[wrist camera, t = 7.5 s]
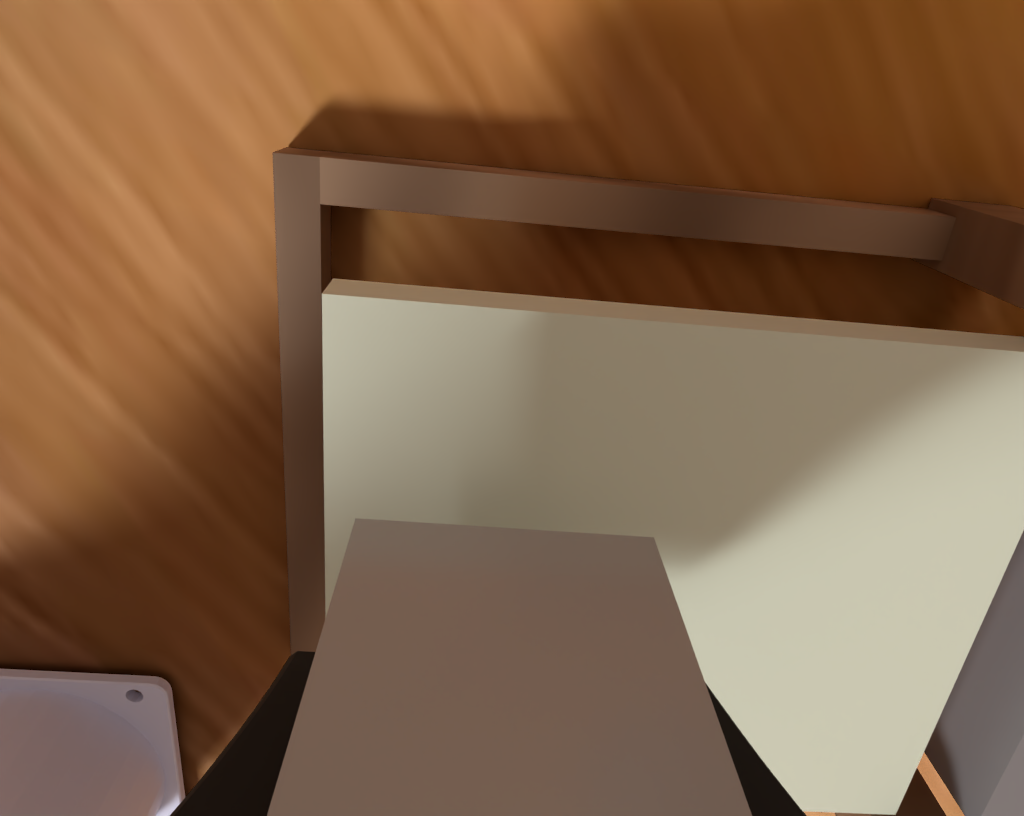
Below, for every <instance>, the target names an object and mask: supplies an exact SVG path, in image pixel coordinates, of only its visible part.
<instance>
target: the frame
mask: <svg viewBox="0 0 1024 816" xmlns="http://www.w3.org/2000/svg"><path fill="white" fill-rule="evenodd" d="M273 175H274V203H275V230H276V258H277V285H278V313H279V340H280V368H281V395H282V423H283V450H284V478H285V505H286V533H287V560H288V588H289V615H290V643H291V655H292V654H294V653H295V652H297V651H308V652H316V649H317V646H318V642H319V639H320V636H321V632H322V629H323V625H324V622H325V531H324V442H323V353H322V293H323V291H324V290H325V289H326V287H327V286H328V285H329V283H330V282H331V205H335V206H346V207H357V208H368V209H379V210H390V211H401V212H412V213H423V214H434V215H445V216H456V217H467V218H478V219H489V220H500V221H511V222H522V223H533V224H544V225H555V226H566V227H577V228H588V229H599V230H610V231H621V232H632V233H643V234H654V235H665V236H676V237H687V238H698V239H709V240H720V241H731V242H742V243H753V244H764V245H775V246H786V247H797V248H808V249H819V250H830V251H841V252H852V253H863V254H874V255H885V256H896V257H907V258H912V260H915V261H917V262H919V263H921V264H923V265H926V266H928V267H930V268H932V269H935V270H937V271H939V272H941V273H944V274H946V275H948V276H950V277H952V278H955V279H957V280H959V281H961V282H964V283H966V284H968V285H970V286H973V287H975V288H977V289H979V290H981V291H984V292H986V293H988V294H990V295H993V296H995V297H997V298H999V299H1002V300H1004V301H1006V302H1008V303H1011V304H1013V305H1015V306H1017V307H1019V308H1022V309H1024V209H1021V208H1017V207H1013V206H1008V205H998V204H988V203H977V202H967V201H957V200H946V199H936V198H931V201H930V204H929V208H928V209H927V208H917V207H906V206H896V205H885V204H875V203H865V202H854V201H844V200H833V199H823V198H812V197H802V196H791V195H781V194H770V193H760V192H749V191H739V190H728V189H718V188H708V187H697V186H687V185H676V184H666V183H655V182H645V181H634V180H624V179H613V178H603V177H592V176H582V175H571V174H561V173H551V172H540V171H530V170H519V169H509V168H498V167H488V166H477V165H467V164H456V163H446V162H435V161H425V160H414V159H404V158H394V157H383V156H373V155H362V154H352V153H341V152H331V151H320V150H310V149H299V148H289V147H286V148H283V149H281V150H278V151H275V152H273ZM835 815H836V816H946V815H945V813H944V811H943V810H942V808H941V806H940V805H939V803H938V802H937V800H936V798H935V797H934V795H933V793H932V792H931V790H930V789H929V787H928V785H927V784H926V782H925V780H924V779H923V777H922V775H921V774H920V772H919V771H918V769H917V768H916V771H915V773H914V775H913V777H912V780H911V782H910V784H909V786H908V788H907V791H906V793H905V795H904V797H903V800H902V802H901V804H900V806H899V808H898V811H897V813H896V815H885V814H860V813H835Z"/></svg>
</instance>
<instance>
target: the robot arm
mask: <svg viewBox="0 0 1024 816" xmlns="http://www.w3.org/2000/svg"><path fill="white" fill-rule="evenodd" d="M314 656H315V652H308V651H297V652H295V653H294V654H292V655H291V656H290V657H289V658H288V660H287V662H286V663H285V665H284V666H283V668H282V670H281V671H280V673H279V674H278V676H277V677H276V679H275V680H274V682H273V683H272V685H271V686H270V688H269V689H268V691H267V692H266V694H265V695H264V697H263V698H262V699H261V701H260V702H259V704H258V705H257V706H256V708H255V709H254V711H253V712H252V713H251V715H250V716H249V717H248V719H247V720H246V722H245V723H244V724H243V726H242V727H241V728H240V730H239V731H238V732H237V734H236V735H235V736H234V738H233V739H232V740H231V741H230V743H229V744H228V745H227V746H226V748H225V749H224V750H223V752H222V753H221V754H220V755H219V757H218V758H217V759H216V761H215V762H214V763H213V764H212V766H211V767H210V768H209V770H208V771H207V772H206V773H205V775H204V776H203V777H202V778H201V780H200V781H199V782H198V783H197V784H196V786H195V787H194V788H193V789H192V790H191V791H190V793H189V794H188V795H187V796H186V797H185V790H184V782H183V774H182V766H181V758H180V750H179V742H178V734H177V726H176V718H175V710H174V702H173V694H172V688H171V686H170V684H169V683H168V682H167V681H166V680H165V679H163V678H161V677H156V676H140V675H120V674H99V673H79V672H59V671H39V670H18V669H0V816H267V814H268V810H269V807H270V804H271V800H272V797H273V794H274V790H275V787H276V783H277V780H278V777H279V773H280V770H281V767H282V763H283V760H284V757H285V753H286V750H287V746H288V743H289V740H290V736H291V733H292V730H293V726H294V723H295V720H296V716H297V713H298V709H299V706H300V703H301V699H302V696H303V693H304V689H305V686H306V683H307V679H308V676H309V673H310V669H311V666H312V662H313V659H314ZM705 684H706V683H705ZM706 687H707V689H708V692H709V695H710V698H711V701H712V703H713V706H714V709H715V712H716V715H717V718H718V720H719V723H720V726H721V729H722V732H723V735H724V737H725V740H726V743H727V746H728V749H729V752H730V754H731V757H732V760H733V763H734V766H735V769H736V771H737V774H738V777H739V780H740V783H741V786H742V788H743V791H744V794H745V797H746V800H747V803H748V805H749V808H750V811H751V814H752V816H806V815H805V813H804V812H803V811H802V810H801V809H800V807H799V806H798V805H797V804H796V802H795V801H794V800H793V798H792V797H791V796H790V795H789V793H788V792H787V791H786V790H785V788H784V787H783V786H782V785H781V783H780V782H779V781H778V780H777V778H776V777H775V776H774V775H773V773H772V772H771V771H770V769H769V768H768V767H767V766H766V764H765V763H764V762H763V760H762V759H761V758H760V756H759V755H758V754H757V752H756V751H755V750H754V748H753V747H752V746H751V744H750V743H749V742H748V740H747V739H746V738H745V736H744V735H743V734H742V732H741V731H740V730H739V728H738V727H737V725H736V724H735V723H734V721H733V720H732V719H731V717H730V716H729V714H728V713H727V712H726V710H725V709H724V708H723V706H722V705H721V703H720V702H719V701H718V699H717V698H716V696H715V695H714V694H713V692H712V691H711V690H710V688H709V687H708V685H707V684H706ZM133 689H134V690H133ZM135 690H138V691H139V692H136V691H135ZM140 692H141V693H140Z"/></svg>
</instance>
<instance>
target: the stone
mask: <svg viewBox="0 0 1024 816" xmlns="http://www.w3.org/2000/svg"><path fill="white" fill-rule="evenodd" d="M267 816H752V814H751V811H750V808H749V805H748V803H747V800H746V797H745V794H744V791H743V788H742V786H741V783H740V780H739V777H738V774H737V771H736V769H735V766H734V763H733V760H732V757H731V754H730V752H729V749H728V746H727V743H726V740H725V737H724V735H723V732H722V729H721V726H720V723H719V720H718V718H717V715H716V712H715V709H714V706H713V703H712V701H711V698H710V695H709V692H708V689H707V687H706V684H705V681H704V678H703V675H702V672H701V670H700V667H699V664H698V661H697V658H696V655H695V653H694V650H693V647H692V644H691V641H690V638H689V636H688V633H687V630H686V627H685V624H684V621H683V619H682V616H681V613H680V610H679V607H678V604H677V602H676V599H675V596H674V593H673V590H672V587H671V585H670V582H669V579H668V576H667V573H666V570H665V568H664V565H663V562H662V559H661V556H660V553H659V551H658V548H657V545H656V542H655V539H654V537H641V536H625V535H610V534H594V533H578V532H563V531H547V530H531V529H516V528H500V527H484V526H469V525H453V524H437V523H422V522H406V521H390V520H375V519H359V518H355V521H354V525H353V528H352V531H351V535H350V538H349V541H348V545H347V548H346V551H345V555H344V558H343V562H342V565H341V568H340V572H339V575H338V578H337V582H336V585H335V588H334V592H333V595H332V599H331V602H330V605H329V609H328V612H327V615H326V619H325V622H324V625H323V629H322V632H321V636H320V639H319V642H318V646H317V649H316V652H315V656H314V659H313V662H312V666H311V669H310V673H309V676H308V679H307V683H306V686H305V689H304V693H303V696H302V699H301V703H300V706H299V709H298V713H297V716H296V720H295V723H294V726H293V730H292V733H291V736H290V740H289V743H288V746H287V750H286V753H285V757H284V760H283V763H282V767H281V770H280V773H279V777H278V780H277V783H276V787H275V790H274V794H273V797H272V800H271V804H270V807H269V810H268V814H267Z"/></svg>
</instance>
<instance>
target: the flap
mask: <svg viewBox="0 0 1024 816" xmlns="http://www.w3.org/2000/svg"><path fill="white" fill-rule="evenodd" d="M322 353H323V442H324V531H325V619H326V615H327V612H328V609H329V605H330V602H331V599H332V595H333V592H334V588H335V585H336V582H337V578H338V575H339V572H340V568H341V565H342V562H343V558H344V555H345V551H346V548H347V545H348V541H349V538H350V535H351V531H352V528H353V525H354V521H355V518H359V519H375V520H390V521H406V522H422V523H437V524H453V525H469V526H484V527H500V528H516V529H531V530H547V531H563V532H578V533H594V534H610V535H625V536H641V537H654V539H655V542H656V545H657V548H658V551H659V553H660V556H661V559H662V562H663V565H664V568H665V570H666V573H667V576H668V579H669V582H670V585H671V587H672V590H673V593H674V596H675V599H676V602H677V604H678V607H679V610H680V613H681V616H682V619H683V621H684V624H685V627H686V630H687V633H688V636H689V638H690V641H691V644H692V647H693V650H694V653H695V655H696V658H697V661H698V664H699V667H700V670H701V672H702V675H703V678H704V681H705V683H706V684H707V685H708V687H709V688H710V690H711V691H712V692H713V694H714V695H715V696H716V698H717V699H718V701H719V702H720V703H721V705H722V706H723V708H724V709H725V710H726V712H727V713H728V714H729V716H730V717H731V719H732V720H733V721H734V723H735V724H736V725H737V727H738V728H739V730H740V731H741V732H742V734H743V735H744V736H745V738H746V739H747V740H748V742H749V743H750V744H751V746H752V747H753V748H754V750H755V751H756V752H757V754H758V755H759V756H760V758H761V759H762V760H763V762H764V763H765V764H766V766H767V767H768V768H769V769H770V771H771V772H772V773H773V775H774V776H775V777H776V778H777V780H778V781H779V782H780V783H781V785H782V786H783V787H784V788H785V790H786V791H787V792H788V793H789V795H790V796H791V797H792V798H793V800H794V801H795V802H796V804H797V805H798V806H799V807H800V809H801V810H802V811H810V812H835V813H860V814H885V815H896V813H897V811H898V808H899V806H900V804H901V802H902V800H903V797H904V795H905V793H906V791H907V788H908V786H909V784H910V782H911V780H912V777H913V775H914V773H915V771H916V768H917V766H918V764H919V762H920V760H921V757H922V755H923V753H924V752H925V754H926V755H927V757H928V758H929V760H930V762H931V763H932V765H933V766H934V768H935V769H936V771H937V773H938V774H939V776H940V777H941V779H942V780H943V782H944V784H945V785H946V787H947V788H948V790H949V791H950V793H951V794H952V796H953V798H954V799H955V801H956V802H957V804H958V805H959V807H960V809H961V810H962V812H963V813H964V815H965V816H1024V337H1021V336H1009V335H997V334H985V333H973V332H962V331H950V330H938V329H926V328H914V327H902V326H891V325H879V324H867V323H855V322H843V321H831V320H820V319H808V318H796V317H784V316H772V315H761V314H749V313H737V312H725V311H713V310H701V309H690V308H678V307H666V306H654V305H642V304H630V303H619V302H607V301H595V300H583V299H571V298H559V297H548V296H536V295H524V294H512V293H500V292H489V291H477V290H465V289H453V288H441V287H429V286H418V285H406V284H394V283H382V282H370V281H358V280H347V279H335V278H333V279H332V281H331V282H330V283H329V285H328V286H327V287H326V289H325V290H324V291H323V293H322Z"/></svg>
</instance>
